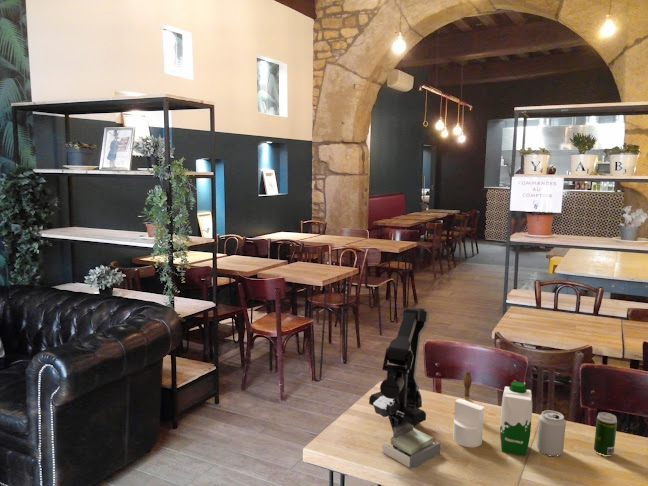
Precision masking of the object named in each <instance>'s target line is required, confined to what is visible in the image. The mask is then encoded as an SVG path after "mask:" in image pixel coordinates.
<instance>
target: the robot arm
mask: <svg viewBox="0 0 648 486" xmlns="http://www.w3.org/2000/svg"><path fill="white" fill-rule="evenodd" d="M429 319H430V312H429V311H427V309H426V308H422V307H414V306H408V307H406V308H402V313H401V323H400V326H399V328H398V332H397V335H396V337H395V338H394V339H392V340H391V341H390V343H389V345H388V347H387V348H386V349H385V354H384V360H383V364H382V371H386V376H385V377H384V379H383V380H382V381H381V383H380V387H379V390H380V391H378V392H374V393H372V394H371V395H370V396H369V398H368V400H369V401H368V404H369V405H371V406H373V408H374V412H375V414H378V415H380V416H381V417H384V418H386V417H388V421H389V423H390V426H391V429H392V431H393V430H394V427H396V426H398V425H400V424H402V423H404V422H407V423H409V424H411V425H413V426H416V425H418V424H420V423H422V422H424V421H426V419H427V412H425V411H424V410H423V409H421V408H422V405H423V399H422V395H421V391H420V390H419V389H420V385H419V383H418V380H417V378H416V375H417V365H418V357H419V356H418V355H419V349H420V341H421V335H422V333H423V332H424V331H425V329H426V328H427V323H428V322H429ZM388 363H389V364H388Z"/></svg>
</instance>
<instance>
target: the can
mask: <svg viewBox="0 0 648 486" xmlns="http://www.w3.org/2000/svg"><path fill="white" fill-rule="evenodd" d="M566 424H567V421H566V420H565V416H564V415H563V413H561V412H558V411H555V410H549V409H548V410H547V409H546V410H544V411H541V414H540V415H538V428H537V440H536V447H537V450H538V451H540V452H541V453H542V452H543V453H545V454H547V455H546V456H548V455H551V456H550V457H558V456H560V455H563V453H564V450H565V449H564V448H565V438H566V437H565V436H566V426H567V425H566ZM543 453H542V454H543ZM545 454H544V455H545ZM557 455H558V456H557Z"/></svg>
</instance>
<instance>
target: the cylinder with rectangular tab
mask: <svg viewBox="0 0 648 486" xmlns="http://www.w3.org/2000/svg"><path fill="white" fill-rule="evenodd" d="M484 414H485V406H483V405H480V404H476V403H474V402H473V403H471V402H468V401H466V400H463V398H457V399H456V400H455V401H454V412H453V416H454V417H453V426H452V429H453V430H452V440H453V441H454V442H455V443H456V444H457V445H460V446H462V447H466V448H477V447H479V446H481V445H482V444H483V431H484V417H485V415H484Z"/></svg>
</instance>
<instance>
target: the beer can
mask: <svg viewBox="0 0 648 486" xmlns="http://www.w3.org/2000/svg"><path fill="white" fill-rule="evenodd" d="M617 425H618V420H617V416H616V415H615V414H612V413H609V412H604V411H603V412H598V413H597V416H596V424H595V434H594V442H593V443H594V444H593V450H594V452H595V451H596V452H598V453H601V454H604V455H612V454H613V453H615V444H616V436H617V427H618V426H617ZM596 452H595V453H596ZM613 455H614V454H613ZM613 455H612V456H613Z"/></svg>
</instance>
